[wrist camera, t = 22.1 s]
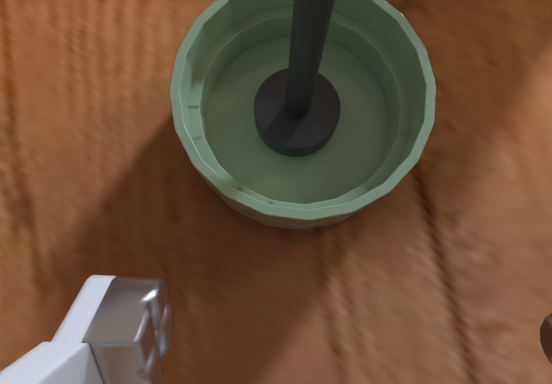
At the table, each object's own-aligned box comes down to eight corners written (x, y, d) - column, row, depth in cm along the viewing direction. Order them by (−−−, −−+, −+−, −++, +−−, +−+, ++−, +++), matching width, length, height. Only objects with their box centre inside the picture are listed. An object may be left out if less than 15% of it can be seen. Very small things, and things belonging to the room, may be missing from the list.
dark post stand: (343, 149, 28) (438, -12, 12) (262, 163, 27) (252, 17, 12) (326, 74, 29) (393, -163, 13) (248, 87, 29) (221, -139, 13)
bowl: (428, 207, 28) (466, 191, 22) (206, 248, 27) (190, 242, 21) (376, 10, 31) (399, -46, 25) (175, 43, 30) (154, -8, 24)
